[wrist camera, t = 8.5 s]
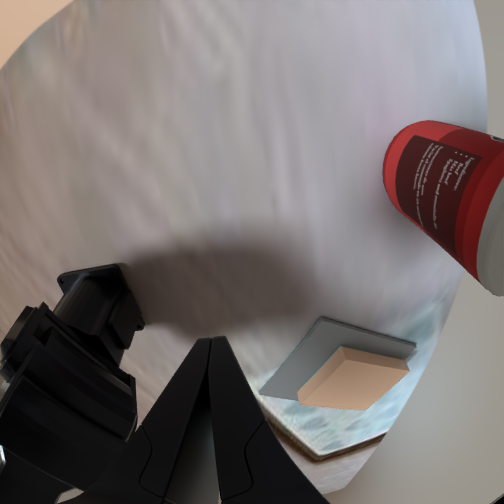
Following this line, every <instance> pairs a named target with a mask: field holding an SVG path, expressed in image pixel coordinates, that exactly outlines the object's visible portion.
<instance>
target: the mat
mask: <svg viewBox="0 0 504 504" xmlns="http://www.w3.org/2000/svg"><path fill="white" fill-rule="evenodd" d="M340 346H344V347H348V348H352V349H356V350H361V351H365V352H369V353H374V354H379V355H383V356H388V357H393V358H398V359H401V360H405V359H406V358H407V357H408V356H409V355H410V353H411V352H412V351H413V350H414V349H415V348H416V345H415V344H413V343H409V342H406V341H402V340H398V339H395V338H391V337H388V336H384V335H381V334H377V333H373V332H370V331H367V330H363V329H360V328H356V327H353V326H350V325H346V324H343V323H340V322H336V321H333V320H330V319H326V318H323V317H320V318H319V320H318V321H317V322H316V323H315V325H314V326H313V327H312V329H311V330H310V331H309V332H308V334H307V335H306V336H305V337H304V339H303V340H302V341H301V342H300V344H299V345H298V346H297V347H296V349H295V350H294V351H293V352H292V354H291V355H290V356H289V357H288V358H287V360H286V361H285V362H284V363H283V364H282V365H281V367H280V368H279V369H278V370H277V371H276V372H275V374H274V375H273V376H272V377H271V378H270V379H269V381H268V382H267V383H266V384H265V385H264V386H263V387H262V388H261V390H260V391H259V394H260V395H264V396H270V397H276V398H282V399H289V400H296V401H299V400H298V395H297V392H298V391H299V389H300V388H301V387H302V386H303V385H304V384H305V383H306V382H307V381H308V380H309V379H310V378H311V377H312V376H313V375H314V374H315V373H316V372H317V371H318V370H319V369H320V368H321V366H322V365H323V364H324V363H325V362H326V361H327V360H328V359H329V358H330V357H331V356H332V355H333V353H334V352H335V351H336V350H337V349H338V348H339V347H340Z"/></svg>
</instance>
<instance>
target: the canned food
mask: <svg viewBox="0 0 504 504" xmlns="http://www.w3.org/2000/svg"><path fill="white" fill-rule="evenodd" d="M383 182H384V186H385V189H386V192H387V194H388V196H389V198H390V200H391V202H392V204H393V205H394V206H395V207H396V209H397V210H398V211H399V212H401V213H402V214H403V215H404V216H406V217H407V218H408V219H409V220H411V221H412V222H413V223H414V224H415V225H417V226H418V227H419V228H420V229H421V230H423V231H424V232H425V233H426V234H427V235H428V236H430V237H431V238H432V239H433V240H434V241H435V242H436V243H438V244H439V245H440V246H441V247H442V248H443V249H444V250H445V251H447V252H448V253H449V254H450V255H451V256H452V257H453V258H454V259H455V260H456V261H457V262H458V263H459V264H460V265H461V266H463V267H464V268H465V269H466V270H467V271H468V272H469V273H470V274H471V275H472V276H473V277H474V278H475V279H476V280H477V281H478V282H480V283H481V285H482V286H483V287H484V288H485V289H487V290H489V291H490V292H491V293H492V294H493V295H496V296H504V139H501V138H498V137H495V136H492V135H488V134H485V133H482V132H478V131H474V130H471V129H467V128H463V127H459V126H454V125H450V124H446V123H441V122H436V121H429V120H428V121H420V122H417V123H414V124H411V125H409V126H407V127H405V128H404V129H402V130H401V131H400V132H399V133H398V134H397V135H396V136H395V137H394V138H393V140H392V142H391V143H390V145H389V147H388V149H387V151H386V154H385V158H384V162H383Z"/></svg>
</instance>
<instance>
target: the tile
mask: <svg viewBox="0 0 504 504" xmlns="http://www.w3.org/2000/svg"><path fill="white" fill-rule="evenodd" d="M409 371H410V370H409V368H408V366H407V364H406V362H405V361H404V360H401V359H398V358H393V357H388V356H383V355H379V354H374V353H369V352H365V351H361V350H356V349H352V348H348V347H344V346H340V347H339V348H338V349H337V350H336V351H335V352H334V353H333V355H332V356H331V357H330V358H329V359H328V360H327V361H326V362H325V363H324V364H323V365H322V366H321V368H320V369H319V370H318V371H317V372H316V373H315V374H314V375H313V376H312V377H311V378H310V379H309V380H308V381H307V382H306V383H305V384H304V385H303V386H302V387H301V388H300V389H299V391H298V392H297V395H298V400H299V405H305V406H313V407H323V408H335V409H349V410H366V409H368V408H369V407H370V406H371V405H373V404H374V403H375V402H376V401H377V400H378V399H380V398H381V397H382V396H383V395H384V394H385V393H387V392H388V391H389V390H390V389H391V388H392V387H393V386H394V385H395V384H397V383H398V382H399V381H400V380H401V379H402V378H403V377H404V376H405V375H406V374H407V373H408V372H409Z"/></svg>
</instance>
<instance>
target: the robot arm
mask: <svg viewBox="0 0 504 504" xmlns="http://www.w3.org/2000/svg"><path fill="white" fill-rule="evenodd" d="M112 270H114V271H115V272H116V273H114V272H113V271H112ZM62 280H63V281H62ZM57 282H58V284H59V286H60V288H61V290H62V291H63V293H64V295H63V296H62V298H61V299H60V301H59V302H58V304H57V305H56V307H55V309H54V310H53V312H52V311H51V310H50V309H49V308H48V307H49V306H47V305H46V304H45V303H44V302H42V303H41V305H40V306H39V307H38V308H37V307H34V308H33V307H29V306H26V307H25V309H24V310H23V311H22V313H21V314H20V316H19V317H18V319H17V320H16V321H15V323H14V324H13V326H12V327H11V329H10V330H9V332H8V333H7V335H6V337H5V338H4V340H3V341H2V343H1V344H0V348H1V354H2V359H1V361H0V363H1V366H0V376H1V377H2V378H3V379H4V382H3V384H2V385H1V387H0V504H57V502H58V500H59V498H60V496H61V495H62V494H63V493H65V492H68V491H71V490H73V489H76V488H77V489H79V490H81V491H84V492H83V493H82V494H80V495H79V496H77V497H75V498H72V499H70V500H67V501H64V502H61V503H58V504H218V497H219V491H220V498H221V500H222V502H221V504H330V503H329V502H328V501H327V500H326V499H325V498H324V497H323V495H322V494H321V493H320V492H319V491H318V490H317V489H316V488H315V486H314V485H313V484H312V483H311V482H310V481H309V479H308V478H307V477H306V476H305V475H304V474H303V472H302V471H301V470H300V469H299V468H298V466H297V465H296V464H295V463H294V461H293V460H292V459H291V458H290V456H289V455H288V453H287V452H286V451H285V449H284V448H283V447H282V445H281V444H280V442H279V440H278V439H277V437H276V435H275V433H274V432H273V430H272V428H271V426H270V424H269V422H268V421H267V420H266V417H265V415H264V413H263V411H262V409H261V407H260V405H259V403H258V401H257V400H256V398H255V396H254V394H253V392H252V390H251V388H250V386H249V384H248V382H247V379H246V377H245V375H244V373H243V371H242V369H241V367H240V365H239V363H238V361H237V359H236V357H235V355H234V352H233V350H232V348H231V346H230V344H229V342H228V340H227V338H226V336H217V337H213V338H210V337H208V338H200V339H198V340H197V341H196V343H195V344H194V346H193V347H192V349H191V350H190V352H189V353H188V355H187V356H186V358H185V359H184V361H183V362H182V364H181V365H180V367H179V368H178V370H177V371H176V372H175V374H174V375H173V377H172V378H171V380H170V381H169V383H168V384H167V386H166V387H165V389H164V390H163V392H162V393H161V395H160V396H159V398H158V399H157V401H156V402H155V404H154V405H153V407H152V408H151V410H150V411H149V413H148V414H147V416H146V417H145V419H144V420H143V422H142V423H141V424H142V425H140V426H139V427H138V429H137V430H136V427H137V421H138V415H137V401H136V381H135V377H133V376H132V375H130V374H127V373H126V372H124V371H123V370H121V369H120V368H119V366H120V363H121V360H122V357H123V354H124V350H125V349H129V347H130V345H131V342H132V339H133V336H134V333H135V331H141V330H143V329H144V326H145V323H144V321H143V319H142V317H141V312H140V310H139V307H138V305H137V303H136V301H135V299H134V296H133V294H132V292H131V290H130V289H129V288H128V286H127V284H126V282H125V279H124V277H123V274H122V272H121V270H120V268H119V267H118V266H117V265H109V266H103V267H98V268H92V269H86V270H81V271H75V272H70V273H64V274H60V275H59V277H58V278H57ZM138 324H139V325H138ZM135 430H136V432H135ZM490 504H504V494H502V495H501V496H500V497H498V498H497V499H496V500H494V501H493V502H492V503H490Z"/></svg>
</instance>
